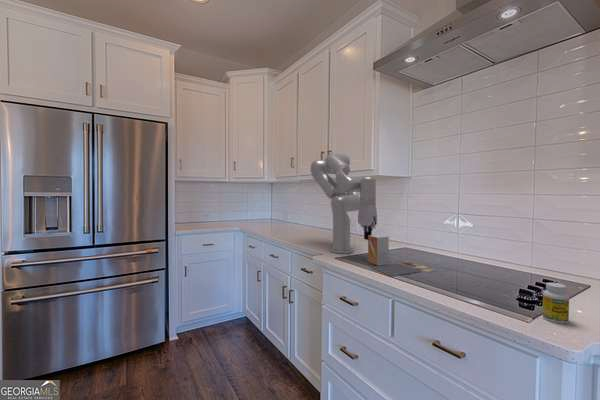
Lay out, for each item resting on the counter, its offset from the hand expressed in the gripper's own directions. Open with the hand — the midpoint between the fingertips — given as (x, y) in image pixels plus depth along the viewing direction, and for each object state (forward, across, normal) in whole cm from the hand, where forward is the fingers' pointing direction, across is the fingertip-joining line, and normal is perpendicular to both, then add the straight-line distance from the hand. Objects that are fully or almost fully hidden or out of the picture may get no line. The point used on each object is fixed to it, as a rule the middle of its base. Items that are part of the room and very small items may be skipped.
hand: (367, 239), depth 144 cm
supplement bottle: (+11, +74, +7) cm, 75 cm away
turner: (+10, +20, +12) cm, 26 cm away
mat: (+10, +19, 0) cm, 22 cm away
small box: (+10, +8, 0) cm, 13 cm away
